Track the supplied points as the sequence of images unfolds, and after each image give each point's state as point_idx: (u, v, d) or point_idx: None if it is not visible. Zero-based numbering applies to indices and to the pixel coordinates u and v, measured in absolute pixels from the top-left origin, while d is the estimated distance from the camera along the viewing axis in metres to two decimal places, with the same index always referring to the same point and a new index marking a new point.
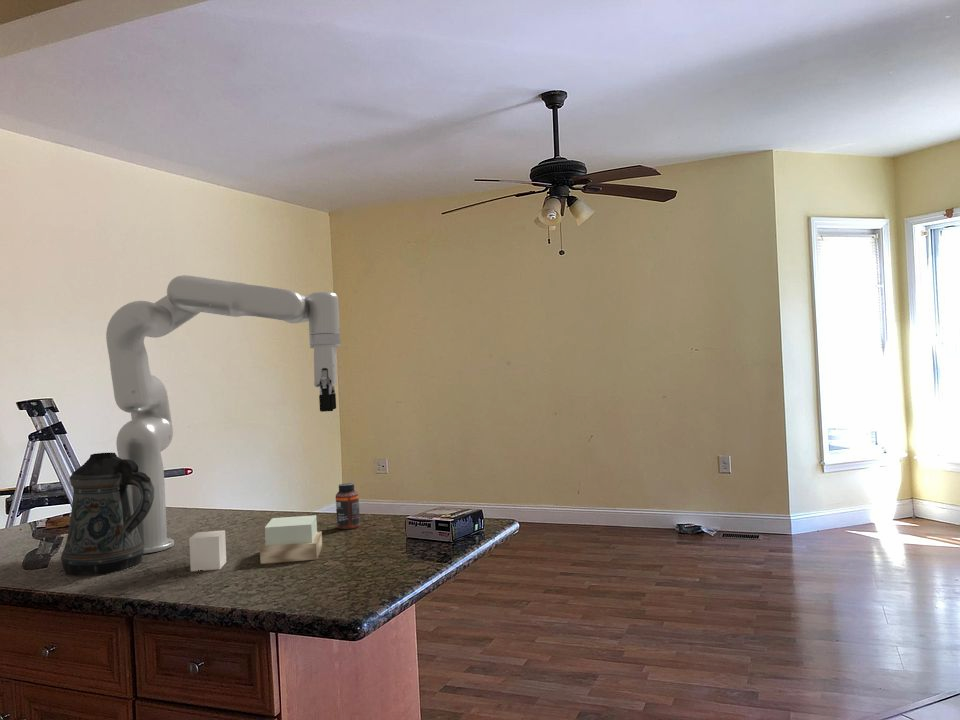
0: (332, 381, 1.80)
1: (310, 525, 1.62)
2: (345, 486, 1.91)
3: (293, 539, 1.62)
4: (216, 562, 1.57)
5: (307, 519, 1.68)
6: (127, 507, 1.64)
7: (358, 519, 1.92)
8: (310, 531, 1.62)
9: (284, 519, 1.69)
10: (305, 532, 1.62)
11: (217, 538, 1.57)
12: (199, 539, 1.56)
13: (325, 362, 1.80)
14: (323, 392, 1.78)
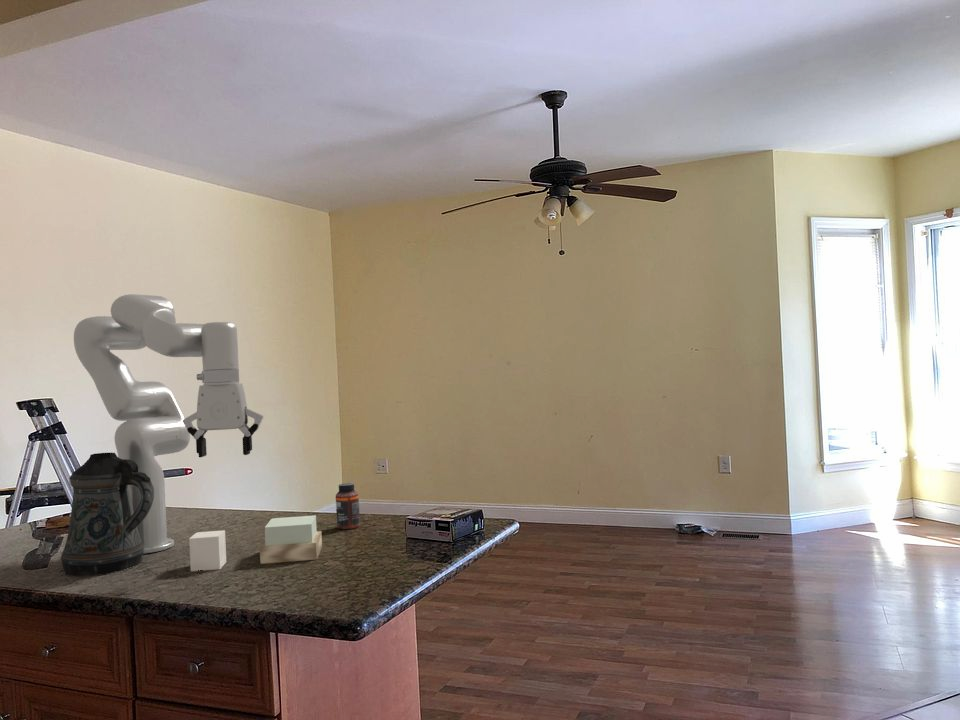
0: None
1: (310, 525, 1.62)
2: (345, 486, 1.91)
3: (293, 539, 1.62)
4: (216, 562, 1.57)
5: (307, 519, 1.68)
6: (127, 507, 1.64)
7: (358, 519, 1.92)
8: (310, 531, 1.62)
9: (284, 519, 1.69)
10: (305, 532, 1.62)
11: (217, 538, 1.57)
12: (199, 539, 1.56)
13: (245, 400, 1.64)
14: (252, 433, 1.63)
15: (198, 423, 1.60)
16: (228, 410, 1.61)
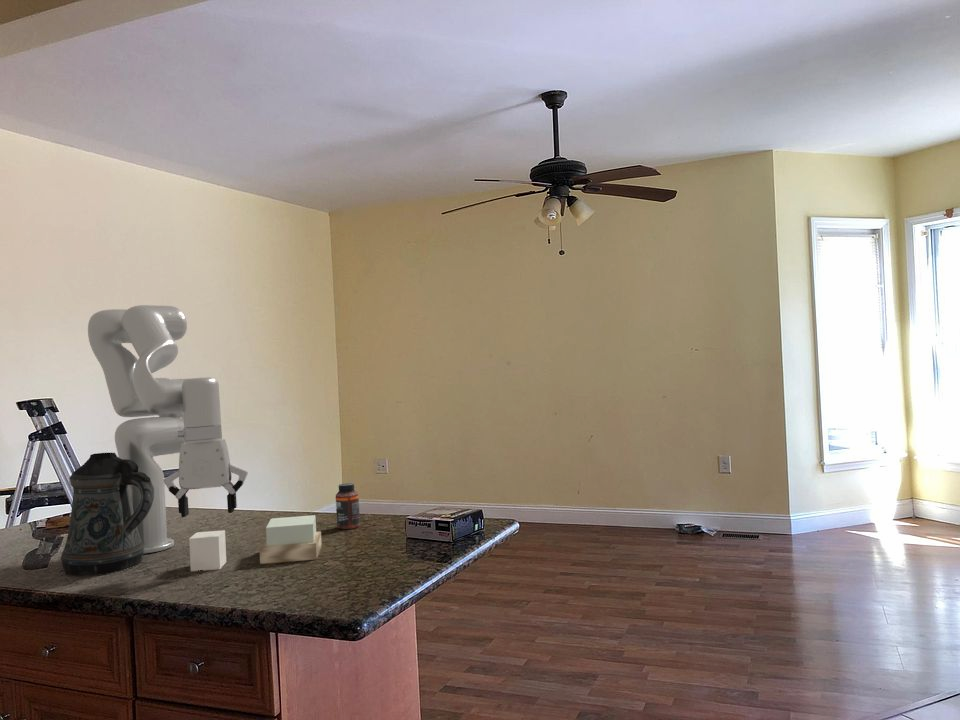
0: None
1: (311, 525, 1.62)
2: (345, 486, 1.91)
3: (295, 539, 1.62)
4: (216, 562, 1.57)
5: (307, 519, 1.68)
6: (127, 507, 1.64)
7: (358, 519, 1.92)
8: (312, 531, 1.62)
9: (284, 519, 1.69)
10: (306, 532, 1.62)
11: (217, 538, 1.57)
12: (199, 539, 1.56)
13: (228, 457, 1.60)
14: (237, 490, 1.60)
15: (180, 482, 1.56)
16: (212, 468, 1.57)
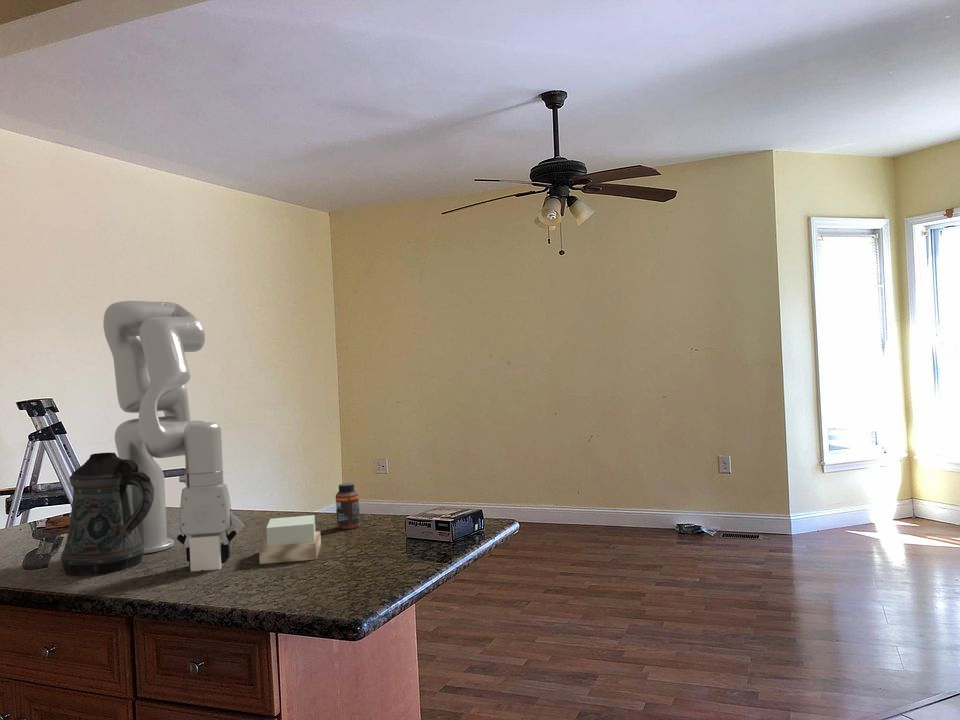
0: None
1: (312, 524, 1.62)
2: (345, 486, 1.91)
3: (295, 539, 1.62)
4: (216, 562, 1.57)
5: (307, 519, 1.68)
6: (127, 507, 1.64)
7: (358, 519, 1.92)
8: (312, 530, 1.62)
9: (283, 519, 1.68)
10: (307, 531, 1.62)
11: (217, 538, 1.57)
12: (199, 539, 1.56)
13: (229, 502, 1.60)
14: None
15: (181, 528, 1.56)
16: (213, 514, 1.57)
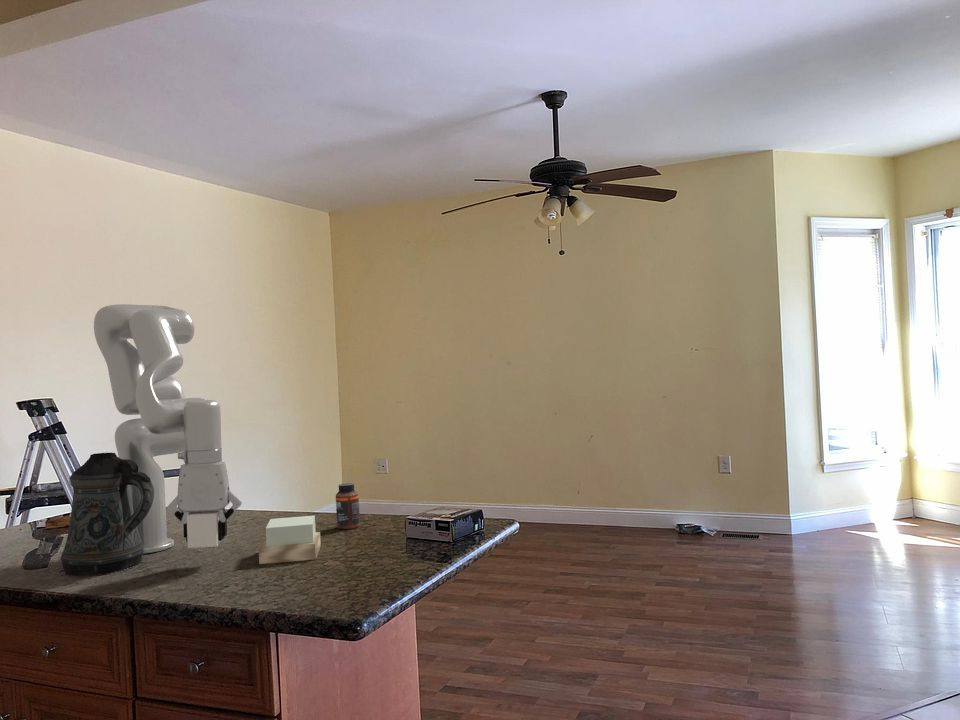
0: None
1: (311, 525, 1.63)
2: (345, 486, 1.91)
3: (294, 539, 1.62)
4: (213, 539, 1.57)
5: (307, 519, 1.68)
6: (127, 507, 1.64)
7: (358, 519, 1.92)
8: (311, 531, 1.62)
9: (283, 520, 1.69)
10: (306, 532, 1.62)
11: (214, 515, 1.57)
12: (196, 516, 1.57)
13: (227, 480, 1.61)
14: None
15: (179, 504, 1.57)
16: (211, 491, 1.57)
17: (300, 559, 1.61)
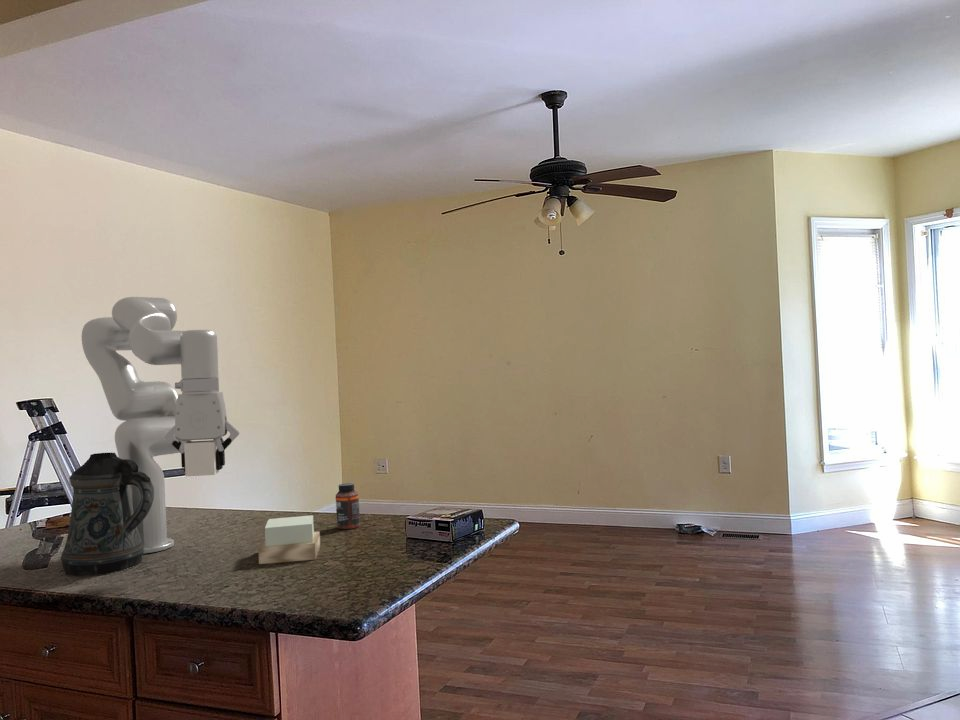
0: None
1: (310, 524, 1.62)
2: (345, 486, 1.91)
3: (294, 539, 1.62)
4: (211, 468, 1.57)
5: (305, 519, 1.68)
6: (127, 507, 1.64)
7: (358, 519, 1.92)
8: (311, 530, 1.62)
9: (281, 520, 1.68)
10: (306, 532, 1.62)
11: (212, 444, 1.57)
12: (194, 444, 1.57)
13: (225, 410, 1.61)
14: (225, 447, 1.60)
15: (176, 433, 1.57)
16: (208, 420, 1.57)
17: (300, 559, 1.61)
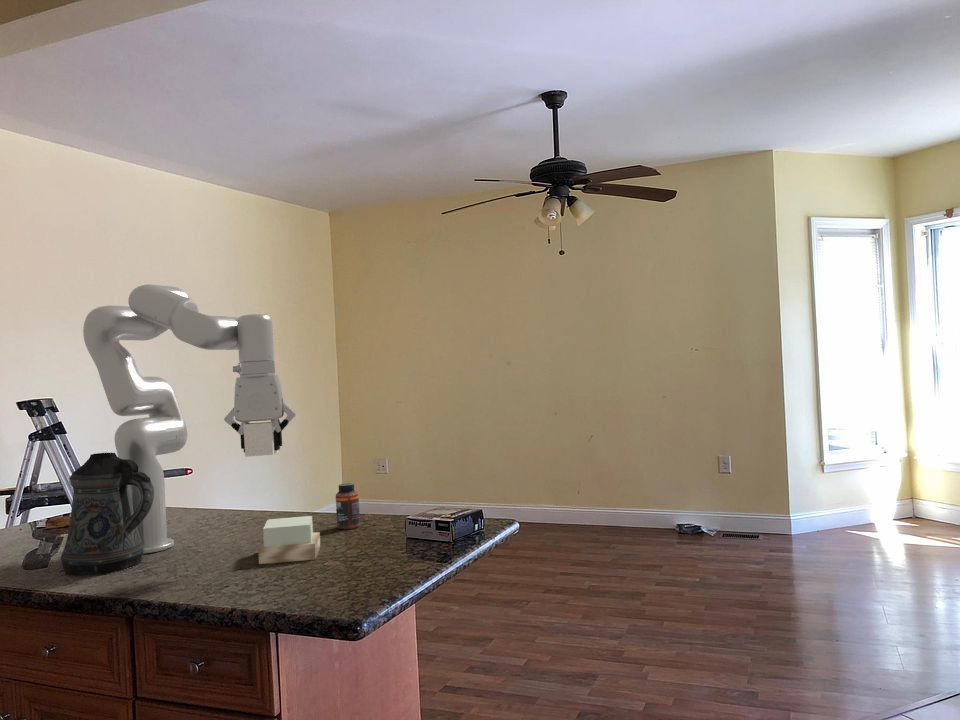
0: None
1: (309, 525, 1.62)
2: (345, 486, 1.91)
3: (292, 540, 1.62)
4: (270, 448, 1.61)
5: (304, 520, 1.68)
6: (127, 507, 1.64)
7: (358, 519, 1.92)
8: (309, 531, 1.62)
9: (280, 520, 1.68)
10: (304, 532, 1.62)
11: (270, 424, 1.61)
12: (253, 425, 1.61)
13: (281, 392, 1.65)
14: (283, 428, 1.64)
15: (236, 415, 1.61)
16: (266, 401, 1.62)
17: (300, 559, 1.61)
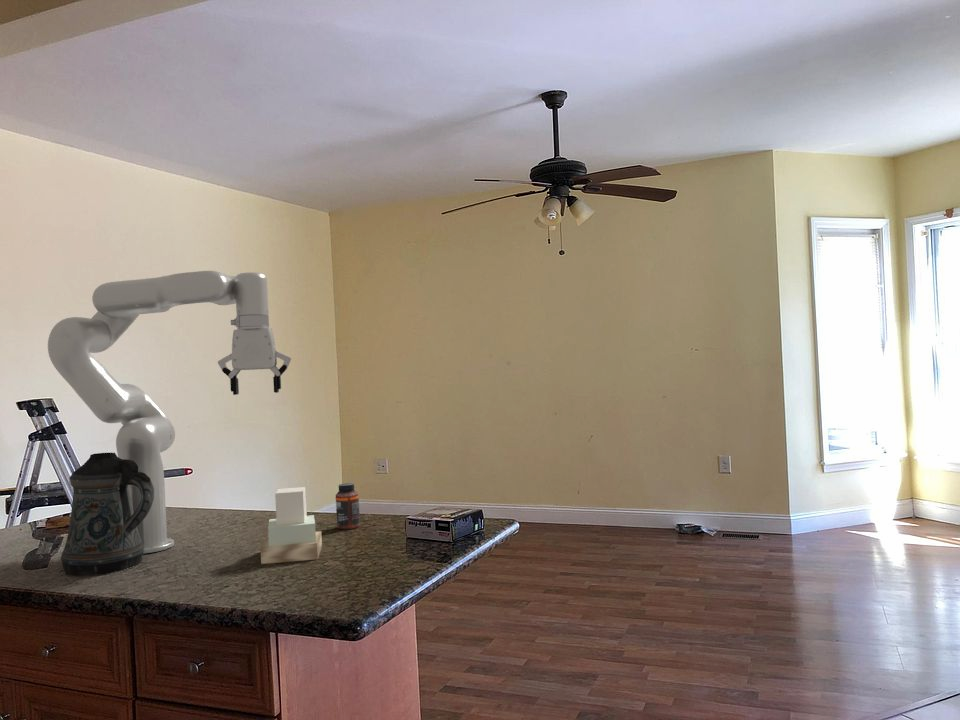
0: None
1: (314, 524, 1.63)
2: (345, 486, 1.91)
3: (297, 539, 1.62)
4: (301, 516, 1.64)
5: (307, 519, 1.68)
6: (127, 507, 1.64)
7: (358, 519, 1.92)
8: (314, 530, 1.63)
9: None
10: (309, 531, 1.62)
11: (301, 493, 1.64)
12: (284, 494, 1.64)
13: (274, 344, 1.81)
14: (282, 373, 1.81)
15: (233, 363, 1.77)
16: (261, 351, 1.78)
17: (302, 558, 1.61)
